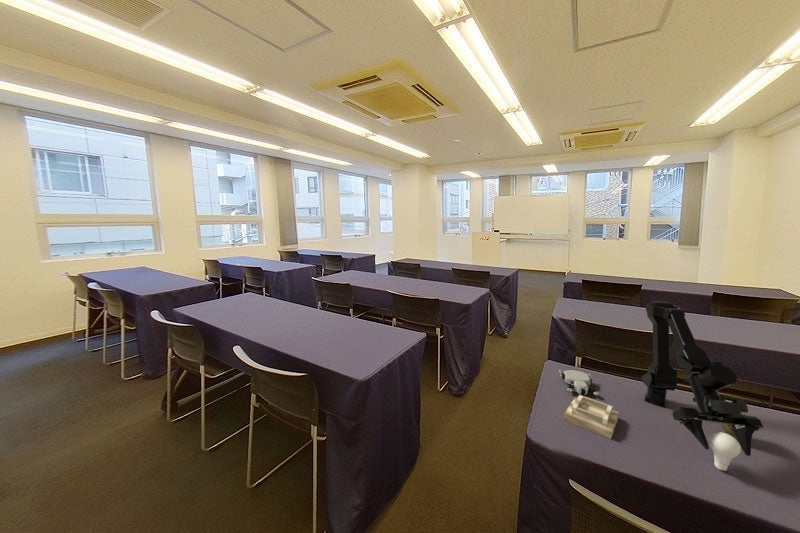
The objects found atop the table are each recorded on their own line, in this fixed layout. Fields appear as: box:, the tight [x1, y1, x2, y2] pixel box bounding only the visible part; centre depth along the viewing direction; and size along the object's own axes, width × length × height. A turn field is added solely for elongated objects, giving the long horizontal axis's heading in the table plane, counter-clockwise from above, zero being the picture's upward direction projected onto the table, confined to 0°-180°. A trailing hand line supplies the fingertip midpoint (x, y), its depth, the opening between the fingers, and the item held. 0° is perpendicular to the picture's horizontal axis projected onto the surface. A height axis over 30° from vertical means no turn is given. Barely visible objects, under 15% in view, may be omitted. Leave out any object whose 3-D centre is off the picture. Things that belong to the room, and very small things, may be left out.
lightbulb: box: [708, 431, 742, 471], centre depth 86 cm, size 6×6×11 cm
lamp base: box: [563, 394, 620, 440], centre depth 108 cm, size 14×14×5 cm
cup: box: [720, 413, 746, 441], centre depth 98 cm, size 8×7×8 cm
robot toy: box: [558, 369, 599, 396], centre depth 128 cm, size 12×4×15 cm
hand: (727, 452), depth 84 cm, fingers open, 9 cm apart
